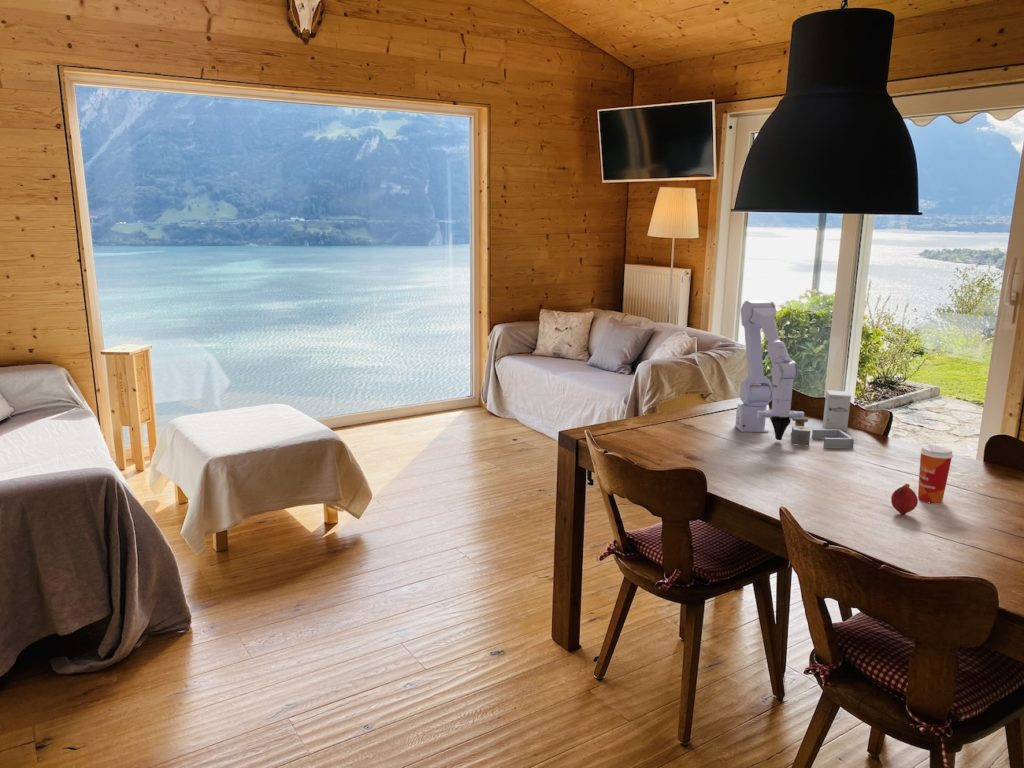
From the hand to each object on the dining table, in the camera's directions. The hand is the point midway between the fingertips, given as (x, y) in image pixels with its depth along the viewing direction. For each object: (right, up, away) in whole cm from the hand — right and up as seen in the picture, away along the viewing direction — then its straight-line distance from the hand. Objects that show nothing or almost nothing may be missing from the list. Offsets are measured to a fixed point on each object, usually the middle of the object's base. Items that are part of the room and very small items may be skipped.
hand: (778, 439), depth 249 cm
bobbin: (+10, +1, +8) cm, 12 cm away
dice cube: (+7, -1, 0) cm, 7 cm away
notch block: (+17, -1, 0) cm, 17 cm away
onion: (+11, -15, -58) cm, 61 cm away
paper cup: (+23, -13, -49) cm, 55 cm away
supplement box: (+26, +2, +18) cm, 31 cm away
